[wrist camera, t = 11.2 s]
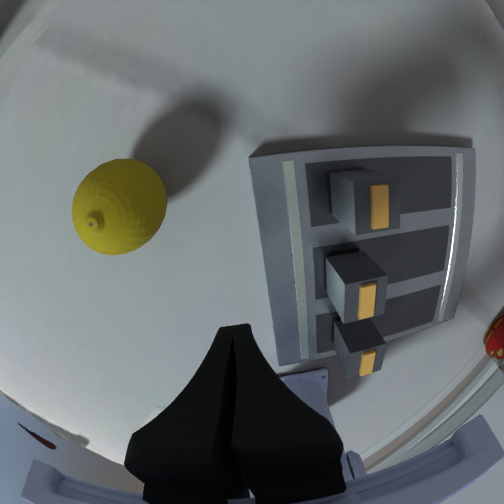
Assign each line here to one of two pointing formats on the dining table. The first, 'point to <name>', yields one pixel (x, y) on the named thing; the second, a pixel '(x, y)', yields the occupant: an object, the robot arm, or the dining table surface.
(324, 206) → the panel
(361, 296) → the breaker
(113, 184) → the lemon
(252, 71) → the dining table surface
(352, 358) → the block
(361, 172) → the breaker
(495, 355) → the soda can
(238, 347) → the robot arm
